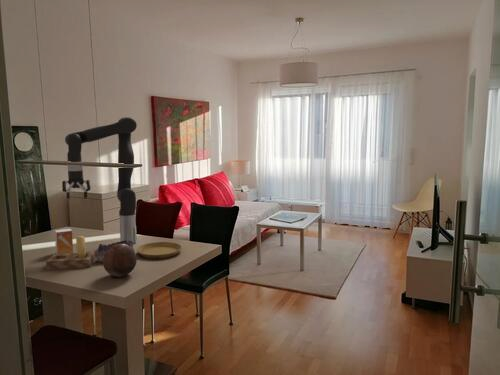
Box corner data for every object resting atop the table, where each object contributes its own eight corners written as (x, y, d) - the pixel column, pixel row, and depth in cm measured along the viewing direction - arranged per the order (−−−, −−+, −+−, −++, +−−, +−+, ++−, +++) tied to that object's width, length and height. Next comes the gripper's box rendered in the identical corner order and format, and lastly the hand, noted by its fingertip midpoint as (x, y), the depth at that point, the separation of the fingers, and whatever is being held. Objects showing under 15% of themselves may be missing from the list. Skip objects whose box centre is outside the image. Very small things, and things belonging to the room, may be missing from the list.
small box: (57, 255, 214) (56, 232, 212) (55, 252, 219) (54, 230, 218) (73, 253, 218) (72, 230, 217) (71, 250, 224) (70, 228, 222)
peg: (87, 262, 203) (85, 235, 201) (85, 264, 199) (83, 237, 197) (79, 262, 202) (77, 236, 200) (77, 265, 198) (75, 238, 197)
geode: (105, 265, 199) (101, 246, 198) (93, 263, 206) (90, 245, 205) (138, 254, 214) (136, 236, 213) (126, 253, 222) (123, 235, 221)
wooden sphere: (142, 271, 190) (141, 240, 188) (128, 282, 175) (126, 249, 173) (113, 269, 192) (112, 239, 190) (97, 280, 178) (95, 248, 176)
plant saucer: (188, 255, 215) (187, 249, 214) (144, 263, 202) (143, 256, 202) (172, 245, 235) (172, 239, 235) (132, 251, 223) (131, 245, 223)
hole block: (94, 259, 207) (94, 252, 207) (89, 267, 196) (89, 259, 195) (54, 261, 204) (53, 254, 203) (46, 269, 192) (45, 261, 192)
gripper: (90, 169, 223) (92, 197, 225) (63, 169, 220) (65, 198, 222) (87, 170, 215) (89, 199, 218) (59, 170, 213) (61, 200, 215)
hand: (77, 198), depth 220 cm, fingers open, 8 cm apart
